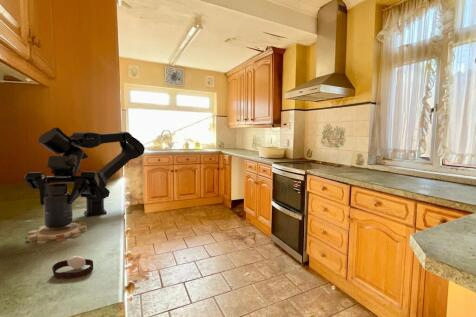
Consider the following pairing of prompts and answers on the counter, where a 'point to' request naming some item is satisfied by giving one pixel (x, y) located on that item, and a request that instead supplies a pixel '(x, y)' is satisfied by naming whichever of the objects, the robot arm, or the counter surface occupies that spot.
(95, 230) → the counter surface
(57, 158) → the robot arm
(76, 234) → the sprocket wheel
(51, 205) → the supplement bottle
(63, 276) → the watch
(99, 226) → the counter surface
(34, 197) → the counter surface
